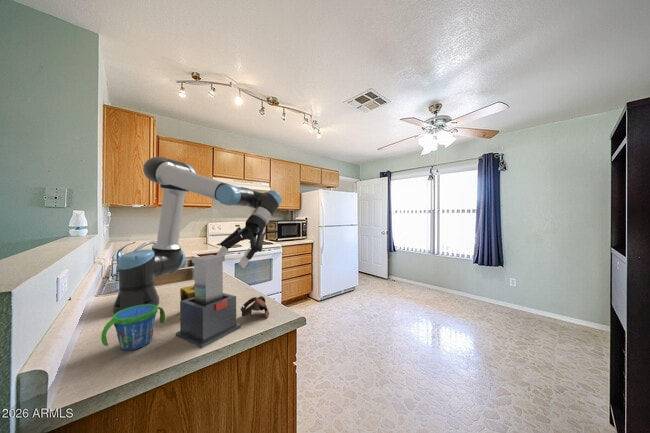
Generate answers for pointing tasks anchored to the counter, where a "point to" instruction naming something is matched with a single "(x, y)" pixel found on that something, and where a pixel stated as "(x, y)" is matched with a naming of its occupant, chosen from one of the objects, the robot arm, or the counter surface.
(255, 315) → the counter surface
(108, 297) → the counter surface
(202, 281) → the column
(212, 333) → the sleeve
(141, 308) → the snack cup
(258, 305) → the brown curved open arch
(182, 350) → the counter surface
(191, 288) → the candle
